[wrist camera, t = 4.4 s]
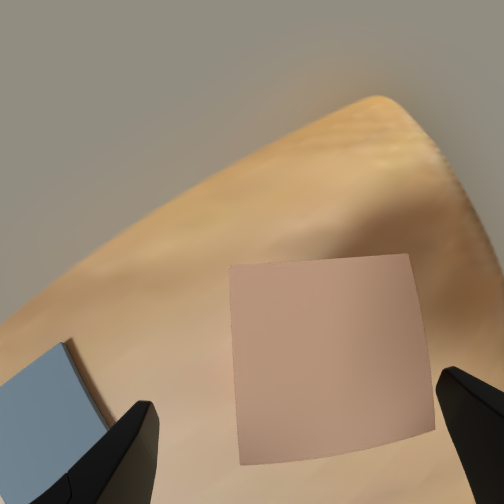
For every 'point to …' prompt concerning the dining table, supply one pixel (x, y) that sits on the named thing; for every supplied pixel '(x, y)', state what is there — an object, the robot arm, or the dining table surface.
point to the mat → (44, 425)
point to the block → (327, 357)
